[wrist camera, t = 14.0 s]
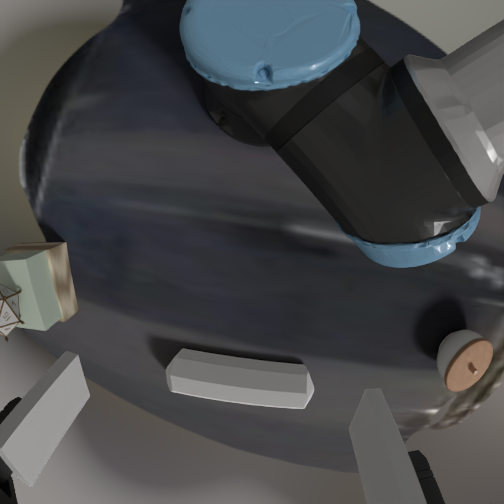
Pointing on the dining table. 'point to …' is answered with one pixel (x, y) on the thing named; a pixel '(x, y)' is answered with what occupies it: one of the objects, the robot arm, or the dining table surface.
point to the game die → (9, 310)
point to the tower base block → (55, 273)
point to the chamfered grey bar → (239, 379)
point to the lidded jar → (463, 359)
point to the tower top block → (31, 288)
